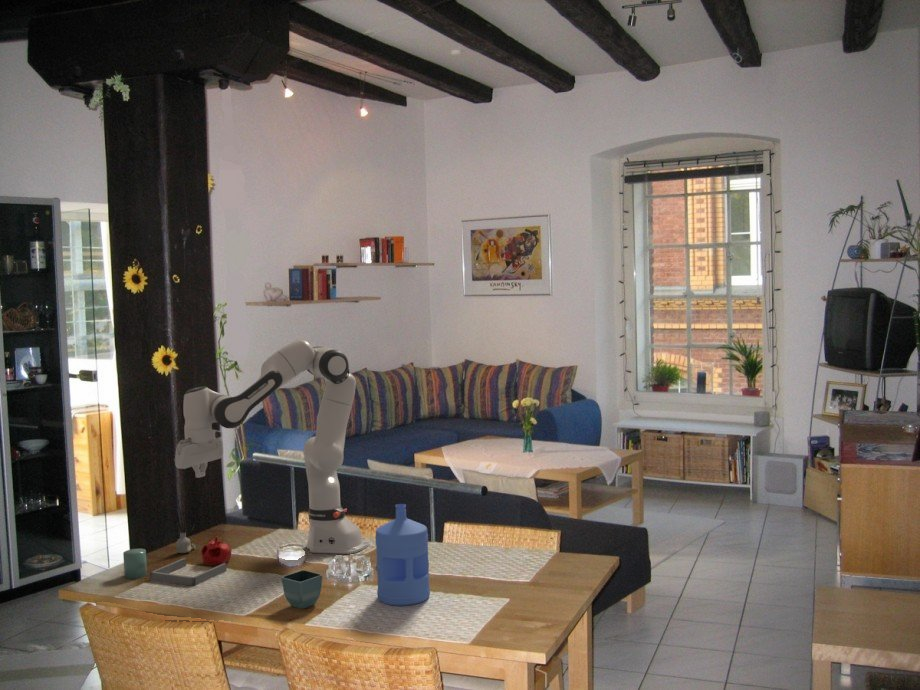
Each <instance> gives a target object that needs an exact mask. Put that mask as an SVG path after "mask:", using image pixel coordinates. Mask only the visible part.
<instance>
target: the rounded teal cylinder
mask: <svg viewBox="0 0 920 690" xmlns="http://www.w3.org/2000/svg"><path fill="white" fill-rule="evenodd" d="M122 555H123V571H124V572H123V573H124V575H123V576H124V578H125V579H126V580H135V579H141V578H144V577H147V575H148V569H147V568H148V567H147V550H146V549H145V548H131V549H128V550H127V549H126V550H125V551H123V553H122Z"/></svg>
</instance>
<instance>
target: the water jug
mask: <svg viewBox="0 0 920 690" xmlns="http://www.w3.org/2000/svg"><path fill="white" fill-rule="evenodd" d="M406 508H407V504H405V503H397V504H395V518H394V519H391V520H390V521H389V522H386V523H383V524H382V525H380V526H379V527H377V528H376V530H375V548H376V552H375V553H376V573H377V575H376V576H377V577H376V578H377V591H376V593H377V598H378V600H379V601H380V602H381V603H383V604H386V605H390V606H395V607H396V606H398V607H405V606H406V607H407V606H411V605H417V604H421V603H423V602H425V601H426V600H428V598H429V597H430V595H431V589H430V571H429V569H430V564H429V534H428V528H427V526H426V525H424V524H422V523H420V522H418V521H414V520H413V519H410V518H408V517H407V509H406Z"/></svg>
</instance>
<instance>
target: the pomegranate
mask: <svg viewBox="0 0 920 690" xmlns="http://www.w3.org/2000/svg"><path fill="white" fill-rule="evenodd" d="M218 538H219V537H218V535H217V536H214V540H211V539H210V540H208V542H205V543H204V545H203V547H202V549H201V550H200V551H201V556H202V558H201V559H202V562H203V563H204V564H205V565H207V566H215V567H217V566H219V565H221V564H223V563H226V564H227V563H228V562H230V560H231V558H232V550H231V547H230V546H229V545H228V544H227V543H226V542H223V541H224V539H221V540H219V539H218ZM218 540H219V541H218Z"/></svg>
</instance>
